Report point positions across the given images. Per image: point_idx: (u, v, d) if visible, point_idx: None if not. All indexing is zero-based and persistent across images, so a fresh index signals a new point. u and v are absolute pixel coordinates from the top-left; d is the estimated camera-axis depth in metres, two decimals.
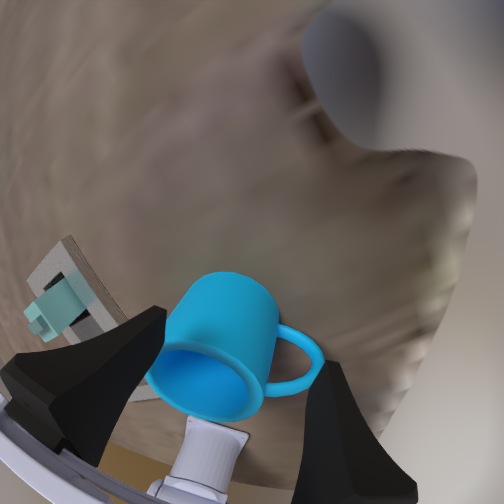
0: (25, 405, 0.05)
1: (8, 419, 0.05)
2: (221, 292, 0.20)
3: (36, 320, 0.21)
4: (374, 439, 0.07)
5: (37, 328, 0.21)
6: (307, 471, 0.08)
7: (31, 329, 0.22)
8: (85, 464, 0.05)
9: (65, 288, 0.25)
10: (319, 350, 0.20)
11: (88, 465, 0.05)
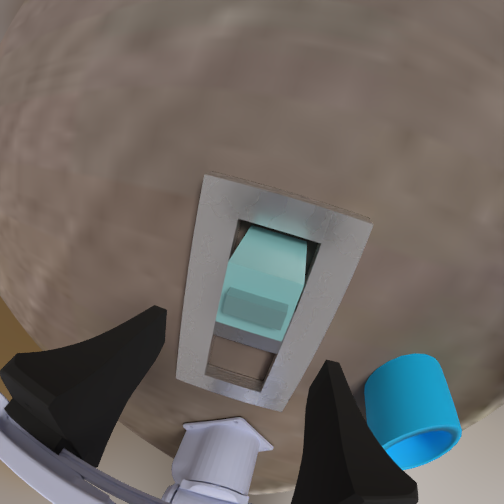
0: (25, 405, 0.05)
1: (8, 419, 0.05)
2: (447, 385, 0.19)
3: (283, 314, 0.14)
4: (374, 439, 0.07)
5: (259, 318, 0.15)
6: (307, 471, 0.08)
7: (233, 305, 0.15)
8: (85, 464, 0.05)
9: None
10: None
11: (88, 465, 0.05)
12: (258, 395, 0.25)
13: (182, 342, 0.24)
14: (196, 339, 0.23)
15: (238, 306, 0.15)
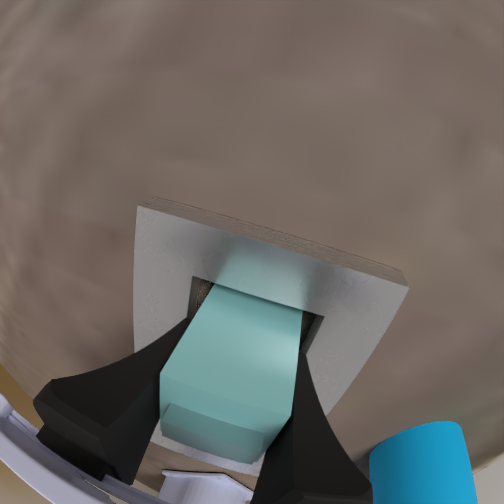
0: (62, 433, 0.05)
1: (8, 419, 0.05)
2: (467, 455, 0.12)
3: (254, 453, 0.07)
4: (331, 434, 0.07)
5: (217, 451, 0.08)
6: (267, 464, 0.08)
7: (175, 433, 0.08)
8: None
9: None
10: None
11: None
12: (240, 465, 0.18)
13: None
14: None
15: (183, 435, 0.08)
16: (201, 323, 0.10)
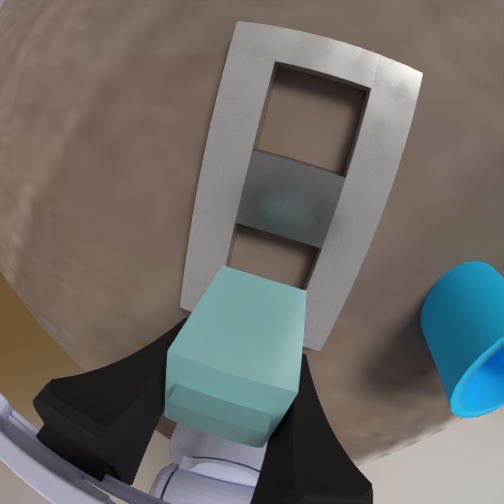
0: (62, 433, 0.05)
1: (8, 419, 0.05)
2: None
3: (261, 434, 0.08)
4: (331, 434, 0.07)
5: (223, 433, 0.08)
6: (267, 464, 0.08)
7: (181, 414, 0.08)
8: None
9: None
10: None
11: None
12: None
13: (192, 243, 0.19)
14: (212, 234, 0.18)
15: (189, 416, 0.08)
16: (207, 305, 0.10)
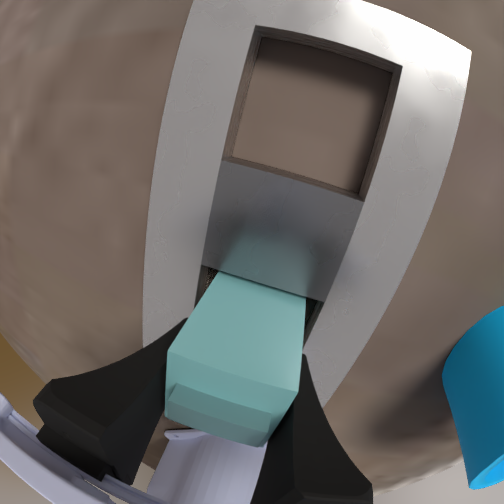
0: (62, 433, 0.05)
1: (8, 419, 0.05)
2: None
3: (261, 433, 0.08)
4: (331, 434, 0.07)
5: (224, 432, 0.08)
6: (267, 464, 0.08)
7: (181, 414, 0.08)
8: None
9: None
10: None
11: None
12: None
13: (148, 288, 0.14)
14: (172, 278, 0.13)
15: (189, 416, 0.08)
16: (208, 305, 0.10)
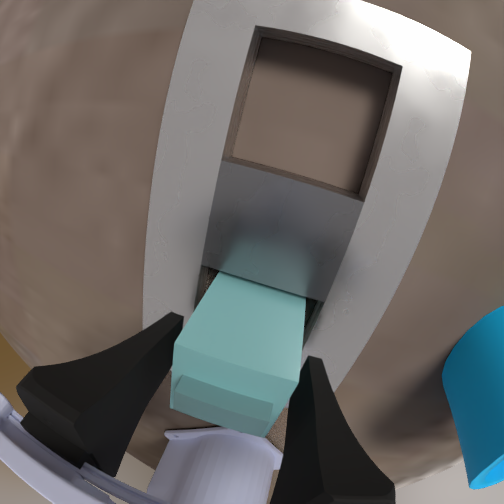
0: (43, 420, 0.05)
1: (8, 419, 0.05)
2: None
3: (263, 422, 0.08)
4: (352, 437, 0.07)
5: (227, 422, 0.09)
6: (286, 467, 0.08)
7: (187, 405, 0.09)
8: (85, 464, 0.05)
9: None
10: None
11: (88, 465, 0.05)
12: None
13: (148, 288, 0.14)
14: (172, 278, 0.13)
15: (194, 406, 0.08)
16: (212, 299, 0.11)
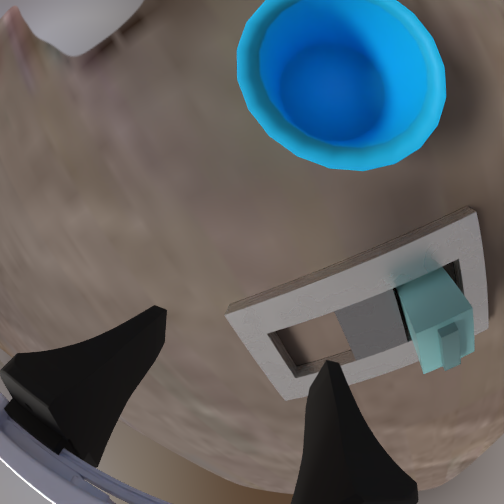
0: (25, 405, 0.05)
1: (8, 419, 0.05)
2: None
3: (443, 338, 0.13)
4: (374, 439, 0.07)
5: (454, 346, 0.13)
6: (307, 471, 0.08)
7: (451, 363, 0.14)
8: (85, 464, 0.05)
9: (412, 291, 0.18)
10: None
11: (88, 465, 0.05)
12: (464, 256, 0.16)
13: None
14: None
15: (450, 361, 0.14)
16: (414, 344, 0.18)
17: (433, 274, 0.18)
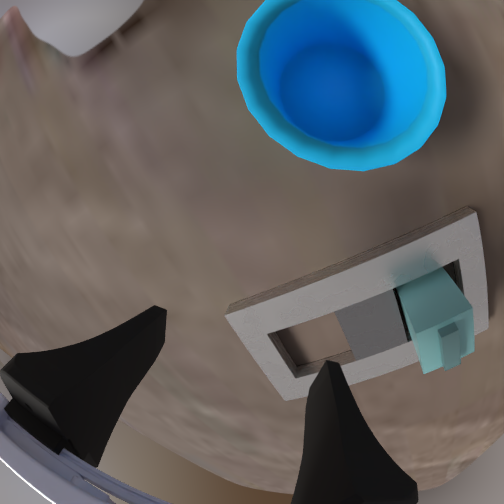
0: (25, 405, 0.05)
1: (8, 419, 0.05)
2: None
3: (444, 338, 0.13)
4: (374, 439, 0.07)
5: (454, 346, 0.13)
6: (307, 471, 0.08)
7: (451, 363, 0.14)
8: (85, 464, 0.05)
9: (412, 291, 0.18)
10: None
11: (88, 465, 0.05)
12: (464, 256, 0.16)
13: None
14: None
15: (450, 361, 0.14)
16: (414, 344, 0.18)
17: (433, 274, 0.18)
